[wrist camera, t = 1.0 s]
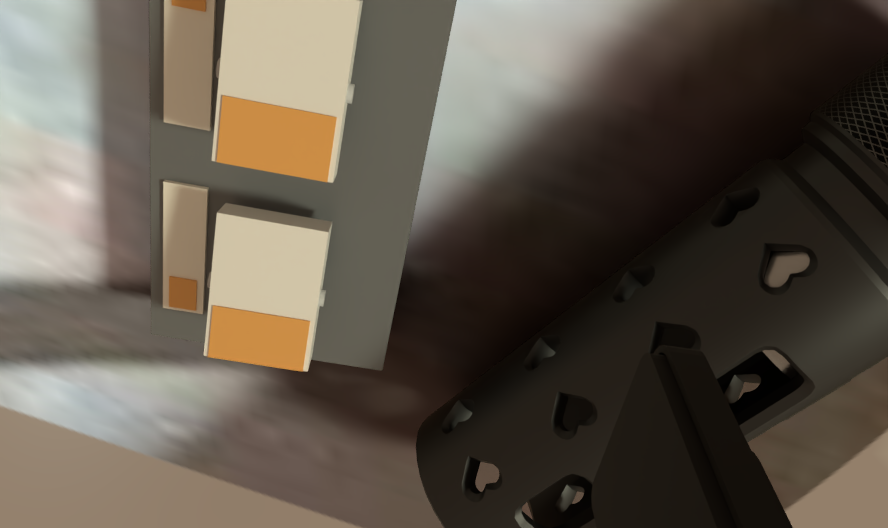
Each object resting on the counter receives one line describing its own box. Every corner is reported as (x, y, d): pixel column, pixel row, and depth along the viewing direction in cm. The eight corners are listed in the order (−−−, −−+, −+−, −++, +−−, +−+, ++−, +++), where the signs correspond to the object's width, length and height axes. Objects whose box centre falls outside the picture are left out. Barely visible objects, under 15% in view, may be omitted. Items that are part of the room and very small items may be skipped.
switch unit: (180, -434, 23) (135, -480, 19) (521, -345, 24) (533, -374, 20) (171, 299, 37) (145, 344, 33) (386, 334, 38) (380, 381, 34)
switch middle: (231, -27, 25) (221, -29, 24) (368, 1, 26) (365, 2, 24) (216, 151, 27) (205, 160, 26) (342, 174, 28) (338, 184, 26)
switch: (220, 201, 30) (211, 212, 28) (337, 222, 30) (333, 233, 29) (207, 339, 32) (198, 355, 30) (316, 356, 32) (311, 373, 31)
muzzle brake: (414, 368, 39) (404, 524, 30) (895, -24, 29) (1095, 39, 20) (532, 458, 42) (554, 623, 34) (999, 136, 32) (1210, 250, 23)
